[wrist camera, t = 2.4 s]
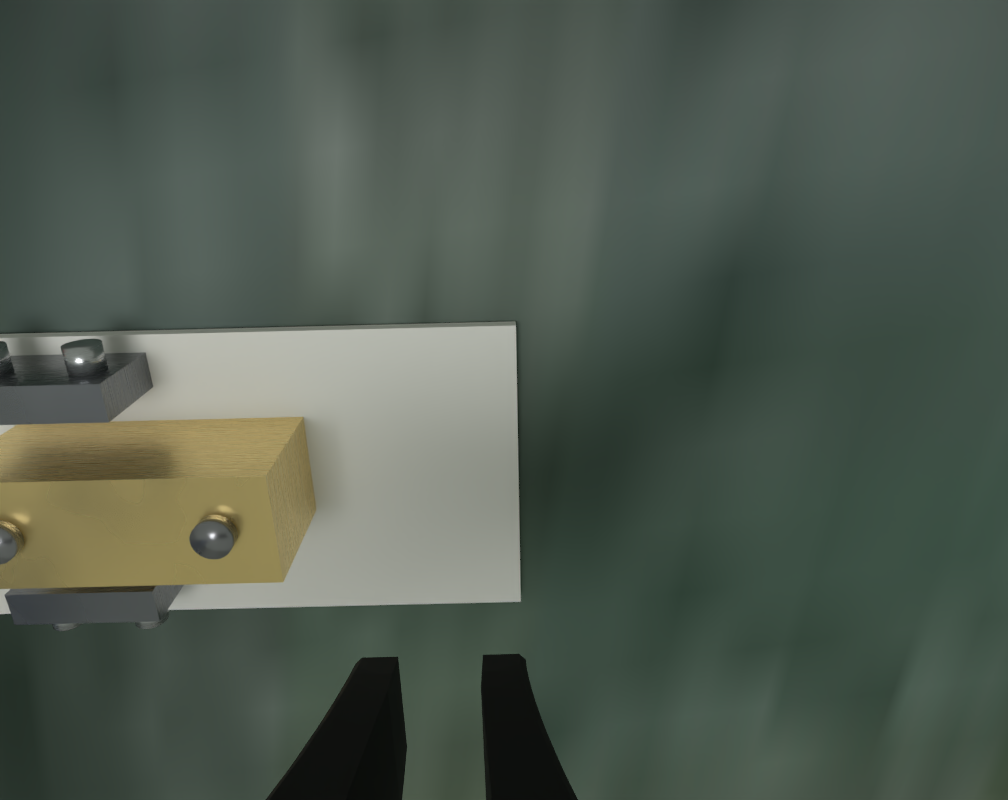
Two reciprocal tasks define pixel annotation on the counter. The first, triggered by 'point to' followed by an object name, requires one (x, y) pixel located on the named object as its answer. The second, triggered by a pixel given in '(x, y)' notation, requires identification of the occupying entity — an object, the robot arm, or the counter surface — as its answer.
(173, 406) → the mat
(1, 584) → the link
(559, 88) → the counter surface
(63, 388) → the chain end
